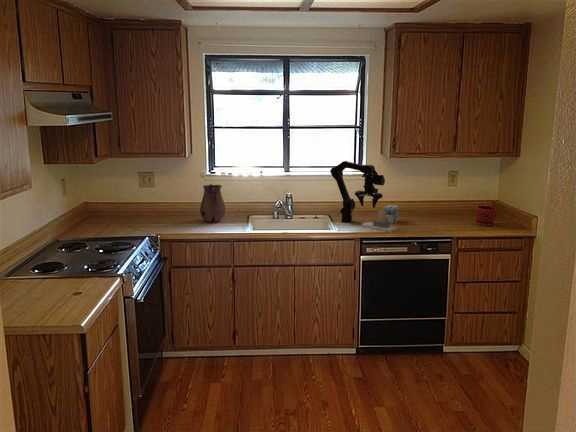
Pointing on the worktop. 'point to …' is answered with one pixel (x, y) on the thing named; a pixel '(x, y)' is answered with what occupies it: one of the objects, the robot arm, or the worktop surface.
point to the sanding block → (381, 220)
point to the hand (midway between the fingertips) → (368, 207)
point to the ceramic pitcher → (212, 203)
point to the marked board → (370, 225)
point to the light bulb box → (392, 213)
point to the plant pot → (485, 215)
